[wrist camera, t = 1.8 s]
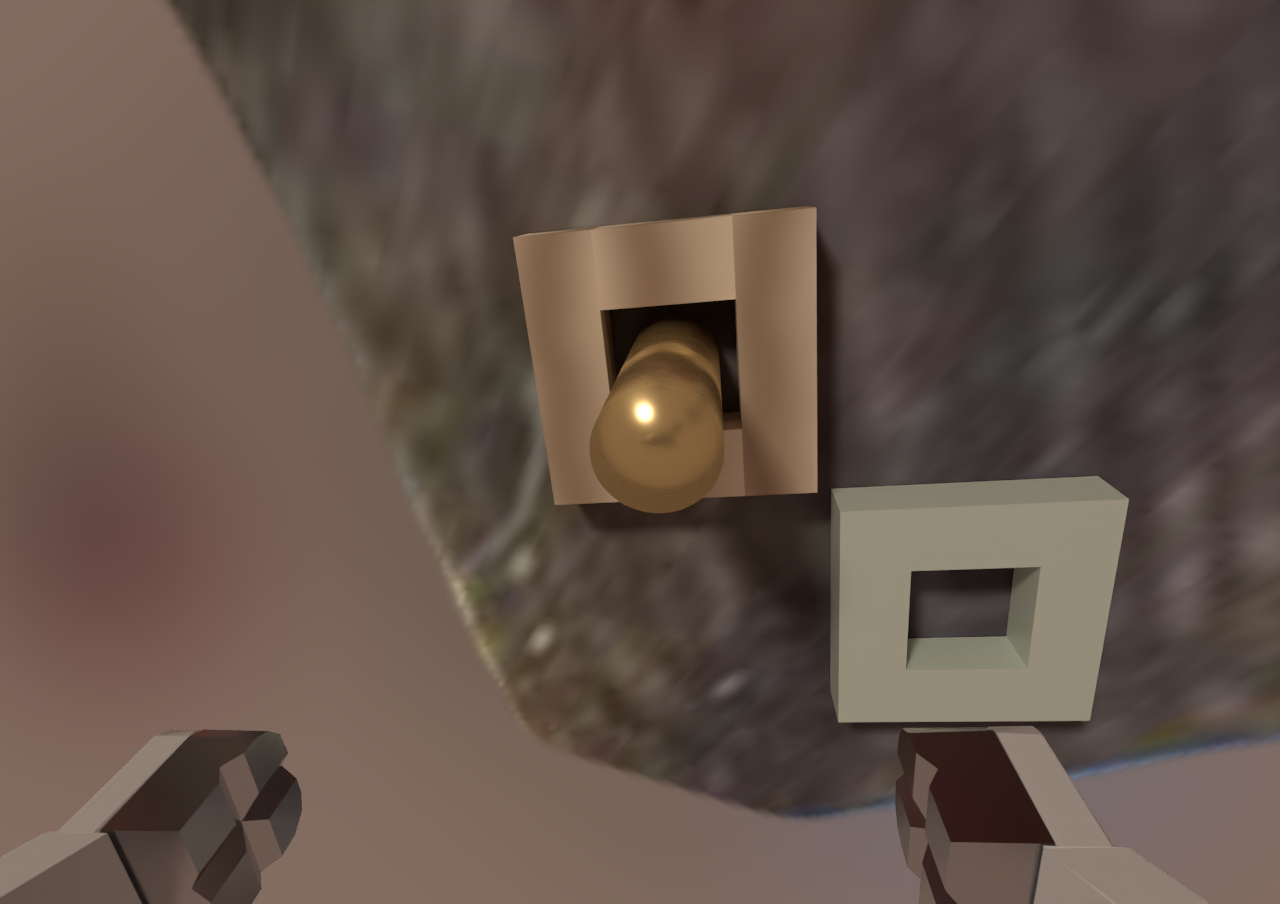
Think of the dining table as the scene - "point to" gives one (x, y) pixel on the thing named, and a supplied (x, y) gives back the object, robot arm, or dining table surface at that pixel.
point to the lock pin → (662, 419)
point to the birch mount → (676, 274)
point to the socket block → (973, 539)
